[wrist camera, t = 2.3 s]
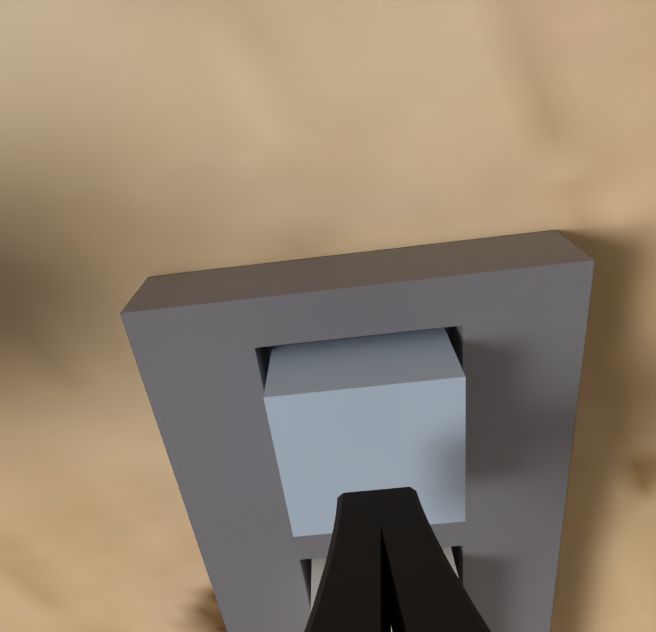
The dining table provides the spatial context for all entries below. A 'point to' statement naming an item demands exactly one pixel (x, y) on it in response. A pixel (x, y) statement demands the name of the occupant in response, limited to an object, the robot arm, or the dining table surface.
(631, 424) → the dining table surface
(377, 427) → the slate key
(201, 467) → the keypad
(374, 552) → the robot arm
